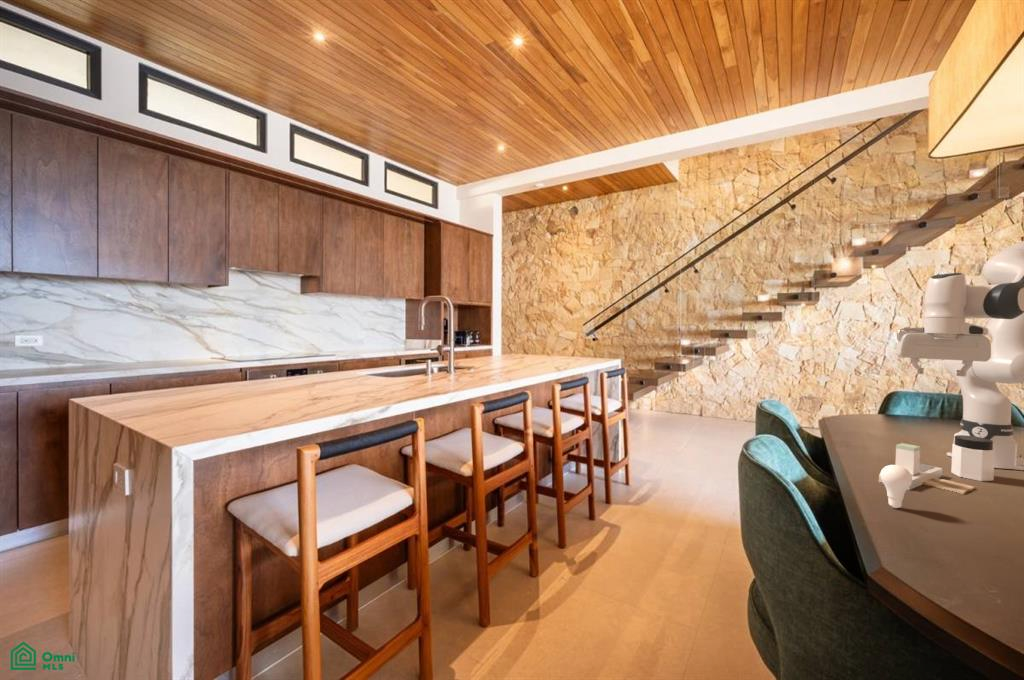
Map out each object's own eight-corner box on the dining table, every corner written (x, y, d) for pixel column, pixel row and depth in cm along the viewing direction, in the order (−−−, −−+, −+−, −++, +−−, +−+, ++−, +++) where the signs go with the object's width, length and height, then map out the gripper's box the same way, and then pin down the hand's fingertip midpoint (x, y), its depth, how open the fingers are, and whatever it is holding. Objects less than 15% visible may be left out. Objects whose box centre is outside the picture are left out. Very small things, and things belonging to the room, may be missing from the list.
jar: (994, 477, 132) (996, 439, 132) (992, 483, 127) (994, 443, 127) (952, 470, 139) (954, 433, 139) (949, 475, 134) (951, 437, 134)
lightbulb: (880, 501, 114) (881, 460, 113) (911, 508, 109) (913, 465, 109) (877, 507, 109) (879, 465, 109) (910, 515, 105) (912, 471, 105)
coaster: (932, 478, 131) (932, 476, 131) (974, 488, 123) (974, 486, 123) (920, 483, 127) (920, 481, 127) (963, 494, 119) (963, 492, 119)
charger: (901, 468, 132) (902, 443, 132) (919, 472, 128) (920, 446, 128) (895, 470, 130) (896, 444, 130) (913, 475, 126) (914, 448, 126)
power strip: (919, 467, 142) (919, 458, 142) (948, 473, 136) (948, 465, 136) (878, 482, 128) (878, 472, 128) (909, 490, 122) (909, 480, 122)
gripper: (902, 326, 128) (899, 373, 128) (996, 329, 119) (992, 378, 120) (893, 327, 133) (890, 371, 134) (982, 329, 125) (979, 376, 125)
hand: (939, 375), depth 127 cm, fingers open, 8 cm apart
